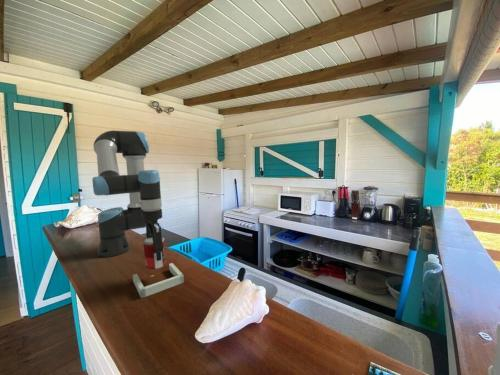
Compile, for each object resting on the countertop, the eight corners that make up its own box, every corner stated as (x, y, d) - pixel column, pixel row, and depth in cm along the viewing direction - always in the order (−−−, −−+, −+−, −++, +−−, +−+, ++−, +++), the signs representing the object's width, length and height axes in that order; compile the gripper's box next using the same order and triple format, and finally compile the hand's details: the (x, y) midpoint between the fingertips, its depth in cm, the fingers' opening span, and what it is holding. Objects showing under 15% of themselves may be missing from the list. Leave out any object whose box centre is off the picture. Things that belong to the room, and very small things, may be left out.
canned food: (159, 270, 85) (156, 243, 83) (141, 268, 86) (138, 242, 85) (170, 261, 92) (168, 236, 91) (153, 260, 94) (151, 235, 92)
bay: (133, 281, 89) (132, 274, 88) (172, 269, 99) (172, 262, 98) (141, 298, 78) (140, 290, 78) (184, 282, 88) (183, 275, 88)
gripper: (135, 206, 92) (140, 257, 95) (148, 215, 76) (153, 277, 79) (154, 203, 97) (158, 252, 100) (169, 212, 80) (173, 270, 83)
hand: (155, 263), depth 89 cm, fingers closed on canned food, 8 cm apart
